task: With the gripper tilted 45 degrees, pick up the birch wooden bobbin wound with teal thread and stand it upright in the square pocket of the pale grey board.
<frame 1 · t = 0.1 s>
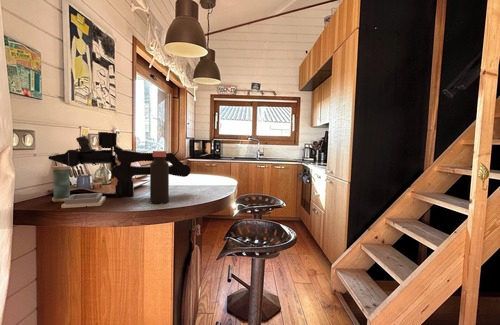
hand: (52, 156, 99), 17 cm above the countertop, fingers open, 9 cm apart
bottle: (159, 202, 100), on the countertop
bobbin stand: (84, 203, 95), on the countertop
bobbin: (62, 199, 99), on the countertop
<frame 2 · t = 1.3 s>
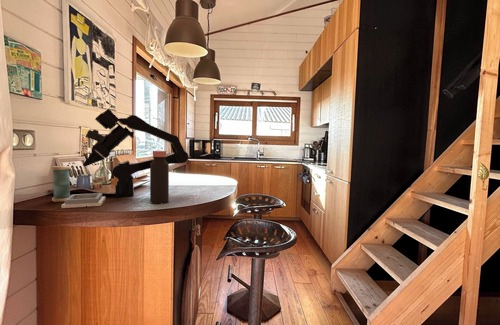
hand: (84, 164, 102), 14 cm above the countertop, fingers open, 9 cm apart
nothing on the countertop moved.
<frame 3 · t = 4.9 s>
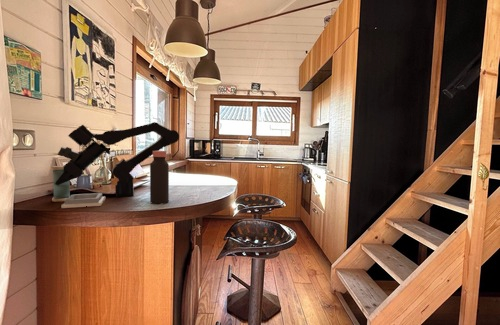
hand: (57, 183, 98), 7 cm above the countertop, fingers closed on bobbin, 5 cm apart
bobbin: (62, 199, 99), on the countertop, touching gripper
everything else where it was.
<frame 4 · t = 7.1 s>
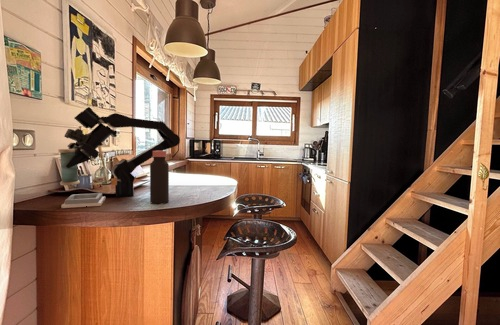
hand: (64, 166, 95), 13 cm above the countertop, fingers closed on bobbin, 5 cm apart
bobbin: (70, 183, 96), point 7 cm above the countertop, touching gripper
everything else where it was.
when the fingers open (9 cm above the countertop, at t = 9.6 s): bobbin drops 1 cm, resting on bobbin stand.
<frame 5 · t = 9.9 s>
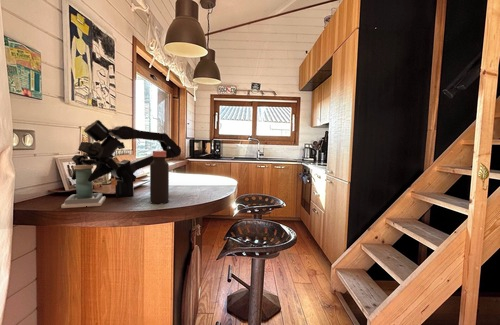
hand: (80, 180, 93), 9 cm above the countertop, fingers open, 8 cm apart
bobbin: (84, 200, 95), point 1 cm above the countertop, touching bobbin stand
everything else where it was.
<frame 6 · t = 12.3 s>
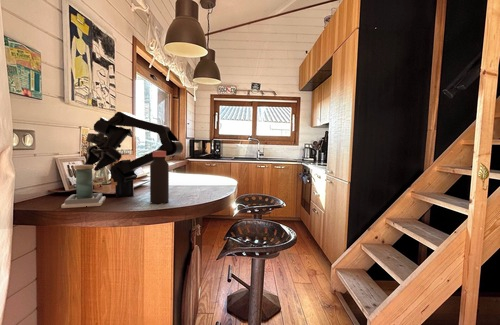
hand: (89, 169, 100), 12 cm above the countertop, fingers open, 9 cm apart
nothing on the countertop moved.
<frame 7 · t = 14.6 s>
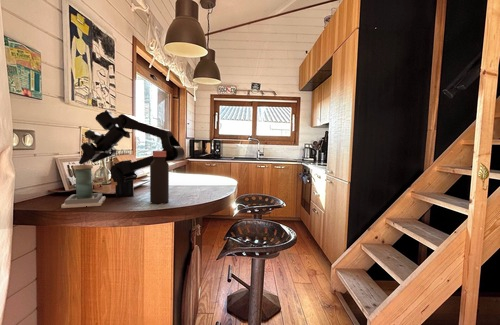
hand: (86, 162, 109), 14 cm above the countertop, fingers open, 9 cm apart
nothing on the countertop moved.
at the end: bobbin 0.0 cm off-centre on the bobbin stand, point 1.1 cm above the bobbin stand's base; bobbin tilted 1°; the gripper is holding nothing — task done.
